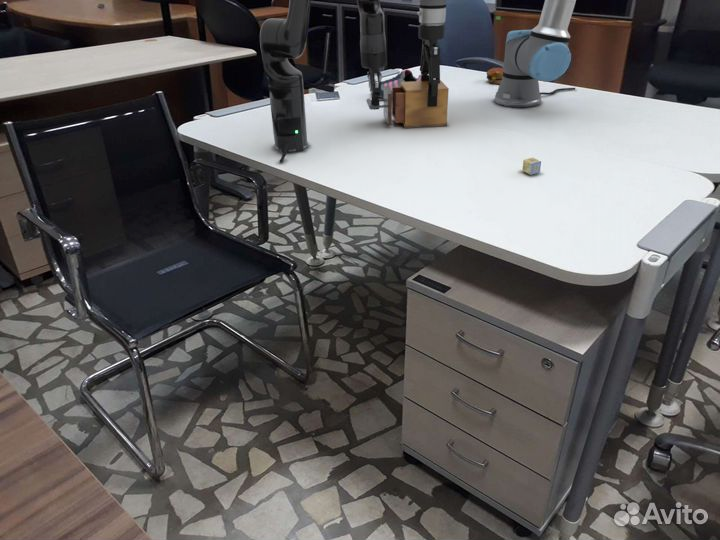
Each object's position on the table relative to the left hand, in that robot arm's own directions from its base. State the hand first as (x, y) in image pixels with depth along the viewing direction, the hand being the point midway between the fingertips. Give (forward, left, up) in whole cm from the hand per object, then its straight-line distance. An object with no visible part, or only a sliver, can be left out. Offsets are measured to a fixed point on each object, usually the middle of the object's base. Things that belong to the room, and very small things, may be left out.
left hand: (375, 108), depth 174 cm
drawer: (0, -6, -4) cm, 7 cm away
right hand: (-1, -16, +1) cm, 16 cm away
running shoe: (+26, -14, -5) cm, 30 cm away
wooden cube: (-1, -15, -5) cm, 15 cm away
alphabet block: (-48, -29, -5) cm, 57 cm away
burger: (+43, -57, -5) cm, 71 cm away
